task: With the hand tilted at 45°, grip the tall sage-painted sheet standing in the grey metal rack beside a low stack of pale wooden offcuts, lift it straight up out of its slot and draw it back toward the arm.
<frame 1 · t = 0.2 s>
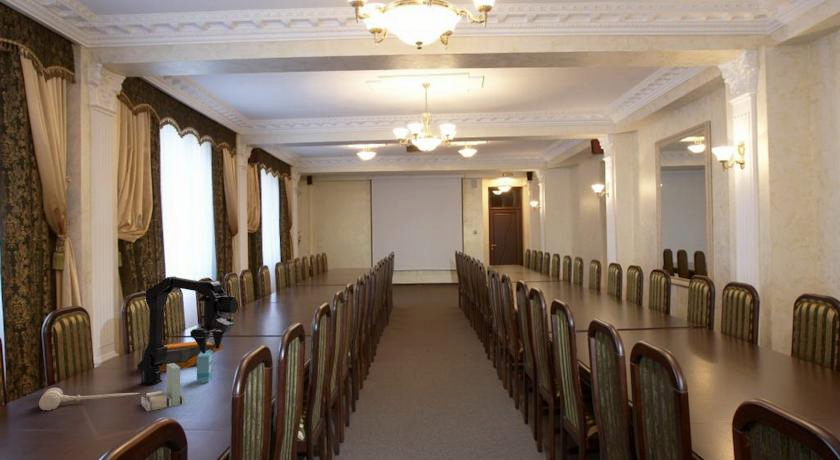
hand: (210, 351, 210), 14 cm above the table, tool pointing down, fingers open, 9 cm apart
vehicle: (184, 365, 244), on the table
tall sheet: (173, 401, 187), point 1 cm above the table, touching rack
data package: (205, 382, 217), on the table
offcut upper: (156, 399, 184), point 3 cm above the table, touching offcut lower
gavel: (93, 403, 191), on the table
offcut lower: (156, 404, 184), point 1 cm above the table, touching offcut upper, rack
rack: (173, 404, 187), on the table
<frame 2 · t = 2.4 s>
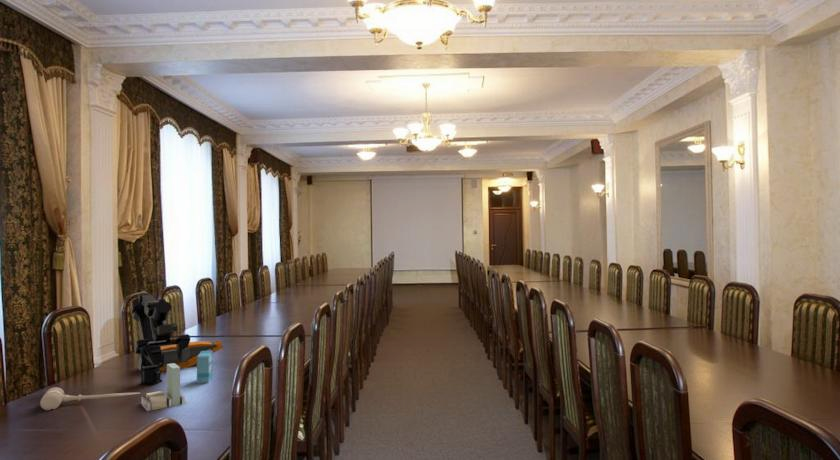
hand: (166, 362, 195), 13 cm above the table, tool tilted 45°, fingers open, 9 cm apart
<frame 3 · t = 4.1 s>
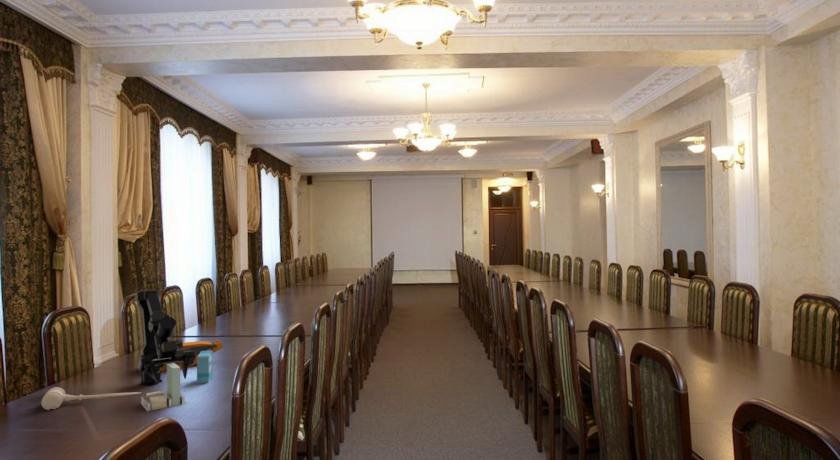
hand: (172, 380, 189), 8 cm above the table, tool tilted 45°, fingers open, 9 cm apart
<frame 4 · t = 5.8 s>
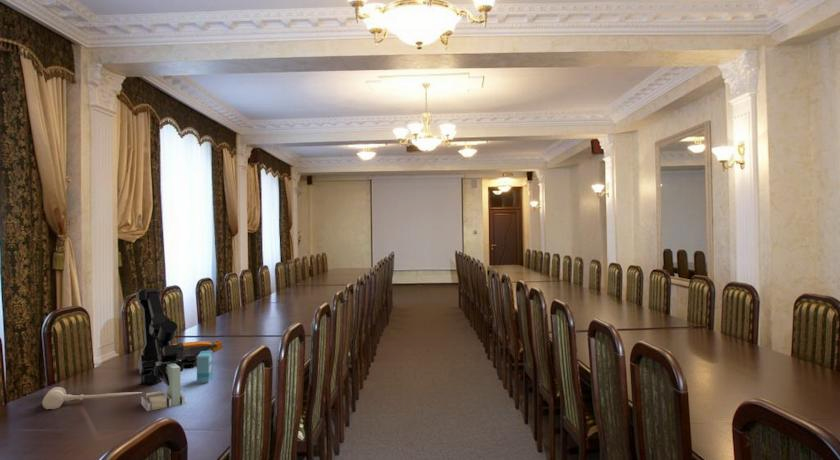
hand: (172, 384, 188), 7 cm above the table, tool tilted 45°, fingers closed on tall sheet, 2 cm apart
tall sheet: (173, 401, 187), point 1 cm above the table, touching gripper, rack
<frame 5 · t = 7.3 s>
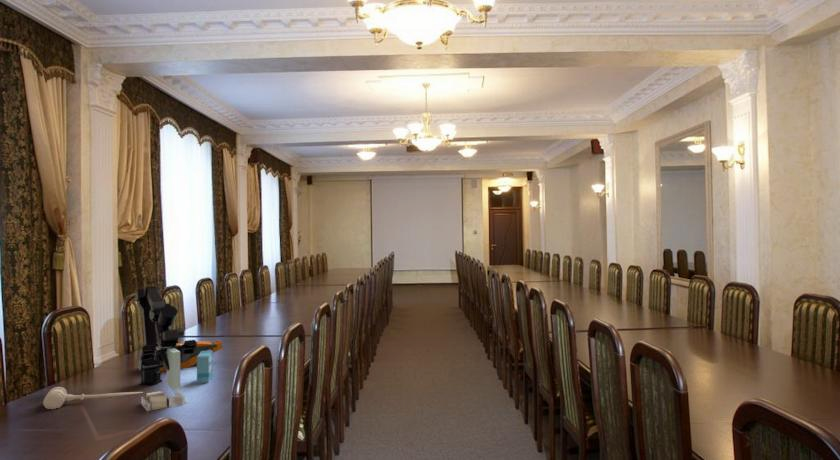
hand: (173, 369, 188), 13 cm above the table, tool tilted 45°, fingers closed on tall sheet, 2 cm apart
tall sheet: (173, 386, 187), point 7 cm above the table, touching gripper
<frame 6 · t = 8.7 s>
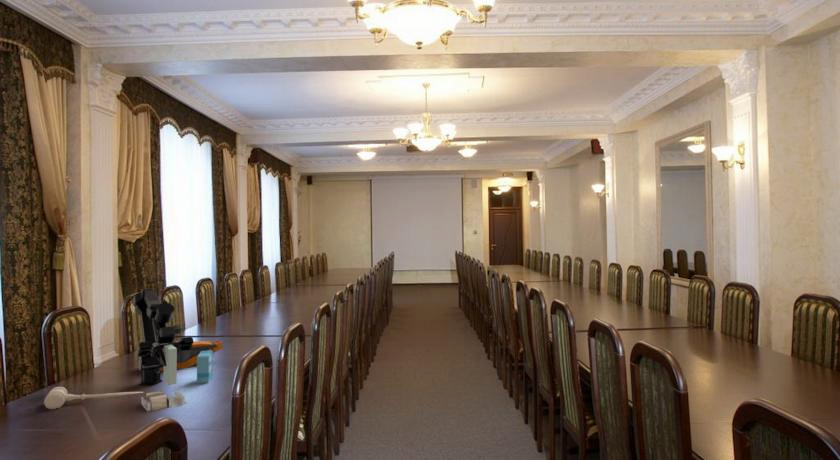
hand: (169, 365, 192), 13 cm above the table, tool tilted 45°, fingers closed on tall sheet, 2 cm apart
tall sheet: (169, 382, 191), point 7 cm above the table, touching gripper
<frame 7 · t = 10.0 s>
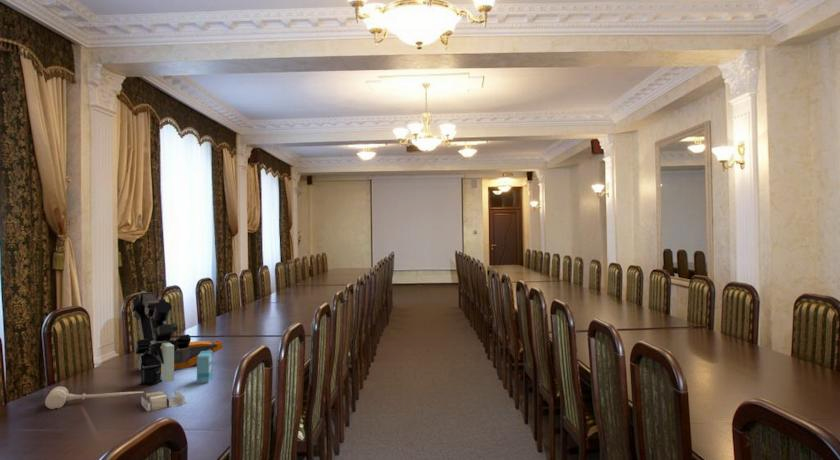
hand: (167, 362, 194), 13 cm above the table, tool tilted 45°, fingers closed on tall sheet, 2 cm apart
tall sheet: (167, 379, 194), point 7 cm above the table, touching gripper
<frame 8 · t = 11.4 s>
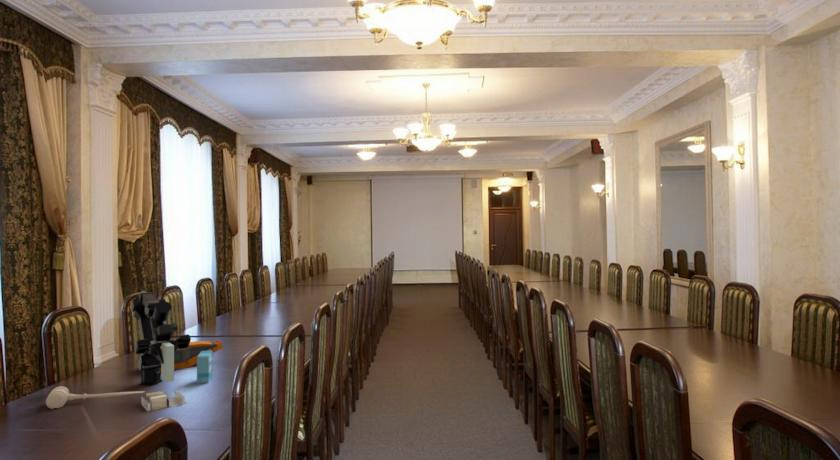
hand: (167, 362, 194), 13 cm above the table, tool tilted 45°, fingers closed on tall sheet, 2 cm apart
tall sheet: (167, 379, 194), point 7 cm above the table, touching gripper
at the end: the gripper is holding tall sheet; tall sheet point 7.4 cm above the table; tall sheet moved 10.3 cm from its start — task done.
